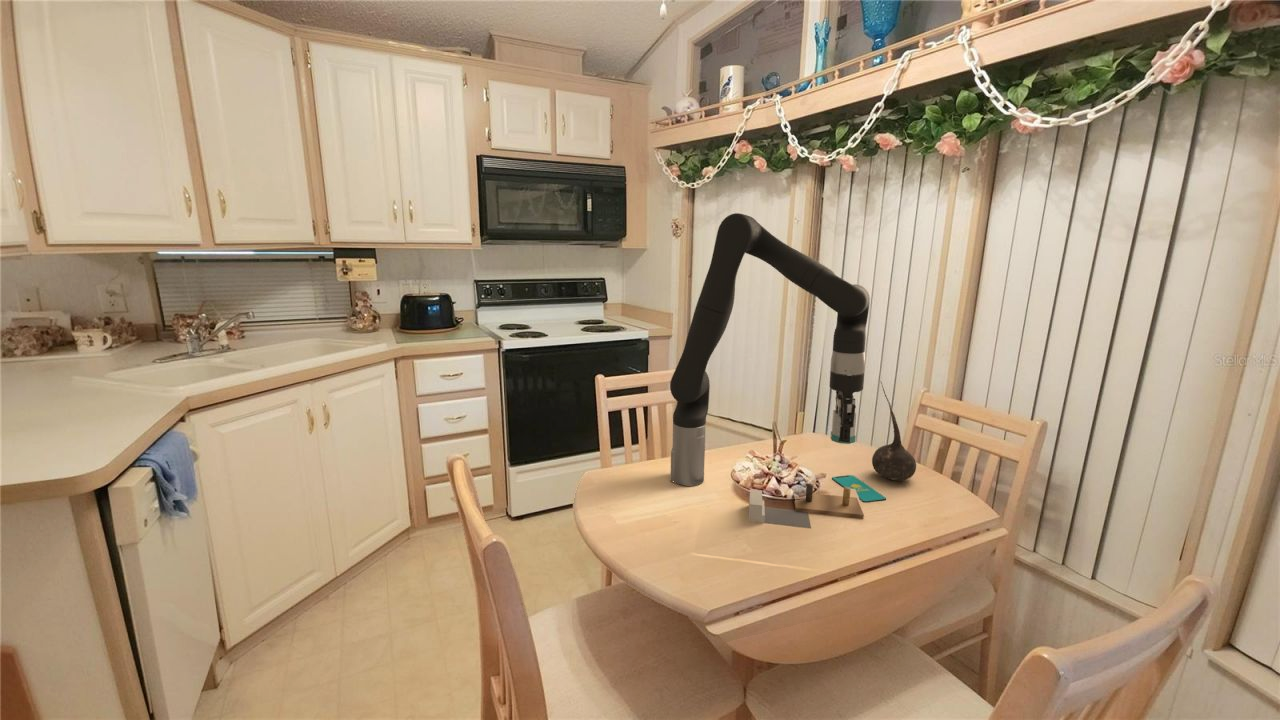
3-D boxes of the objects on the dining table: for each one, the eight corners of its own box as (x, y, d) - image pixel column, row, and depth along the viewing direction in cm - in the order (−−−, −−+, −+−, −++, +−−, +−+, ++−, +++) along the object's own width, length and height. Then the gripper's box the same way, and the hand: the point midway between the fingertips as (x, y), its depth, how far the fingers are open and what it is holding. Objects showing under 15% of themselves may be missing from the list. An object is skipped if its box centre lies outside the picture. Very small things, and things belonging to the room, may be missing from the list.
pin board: (795, 513, 128) (797, 491, 127) (793, 496, 137) (794, 475, 135) (863, 520, 125) (865, 498, 123) (856, 503, 133) (858, 481, 132)
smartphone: (864, 501, 133) (830, 476, 148) (863, 504, 133) (830, 479, 148) (887, 498, 135) (852, 474, 149) (887, 501, 135) (852, 477, 149)
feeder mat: (748, 522, 123) (749, 504, 122) (749, 507, 131) (750, 489, 130) (811, 530, 120) (812, 510, 119) (807, 513, 128) (809, 495, 127)
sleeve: (832, 442, 122) (834, 415, 121) (829, 435, 127) (831, 408, 126) (856, 444, 121) (858, 416, 119) (852, 436, 126) (854, 409, 124)
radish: (855, 472, 152) (865, 375, 145) (894, 468, 155) (906, 372, 148) (881, 489, 141) (893, 385, 134) (923, 484, 144) (936, 382, 138)
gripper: (827, 363, 128) (823, 426, 132) (834, 376, 114) (829, 447, 118) (859, 364, 126) (854, 428, 130) (870, 377, 113) (864, 449, 116)
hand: (842, 437), depth 124 cm, fingers closed on sleeve, 5 cm apart
